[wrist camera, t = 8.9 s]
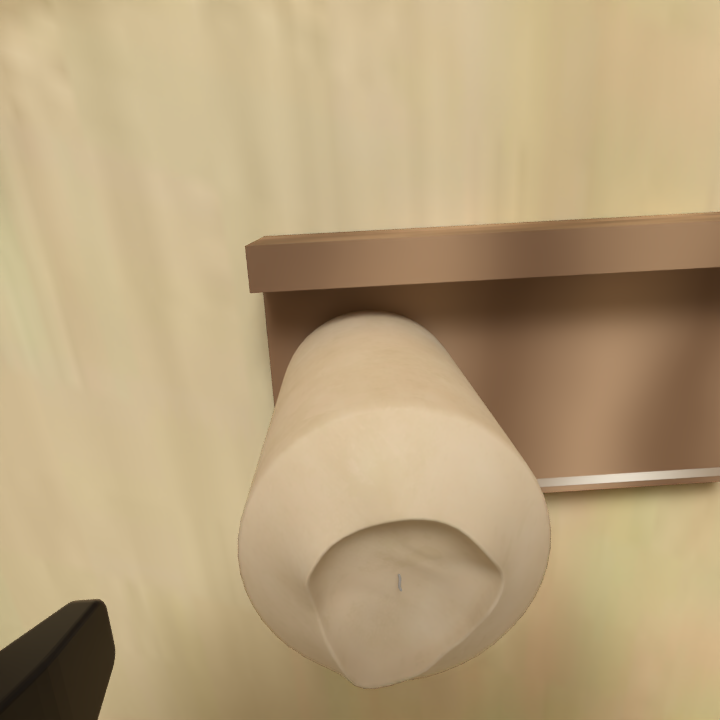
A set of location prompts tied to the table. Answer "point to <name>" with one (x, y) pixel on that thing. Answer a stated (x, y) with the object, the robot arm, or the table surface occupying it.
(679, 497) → the table surface
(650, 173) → the table surface
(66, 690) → the robot arm
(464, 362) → the board
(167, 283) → the table surface
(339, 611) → the candle
